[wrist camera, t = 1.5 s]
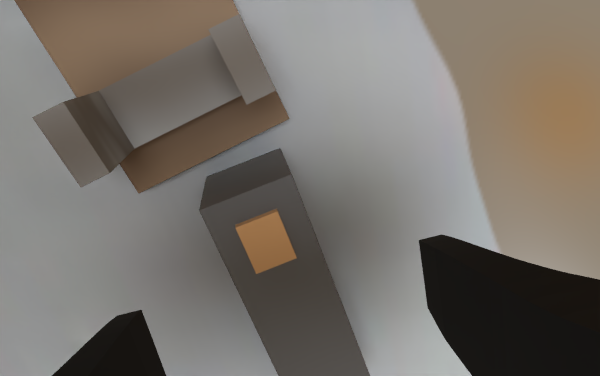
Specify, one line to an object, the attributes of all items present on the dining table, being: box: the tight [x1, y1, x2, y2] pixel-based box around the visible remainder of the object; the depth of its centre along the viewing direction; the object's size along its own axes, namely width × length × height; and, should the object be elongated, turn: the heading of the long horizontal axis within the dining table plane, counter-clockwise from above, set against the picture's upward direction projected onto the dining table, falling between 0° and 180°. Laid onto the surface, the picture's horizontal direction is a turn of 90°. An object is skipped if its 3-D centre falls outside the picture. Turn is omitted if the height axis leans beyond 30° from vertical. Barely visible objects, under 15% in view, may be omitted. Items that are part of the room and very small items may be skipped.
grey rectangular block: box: [199, 148, 370, 376], centre depth 20 cm, size 12×4×5 cm, turn 20°
